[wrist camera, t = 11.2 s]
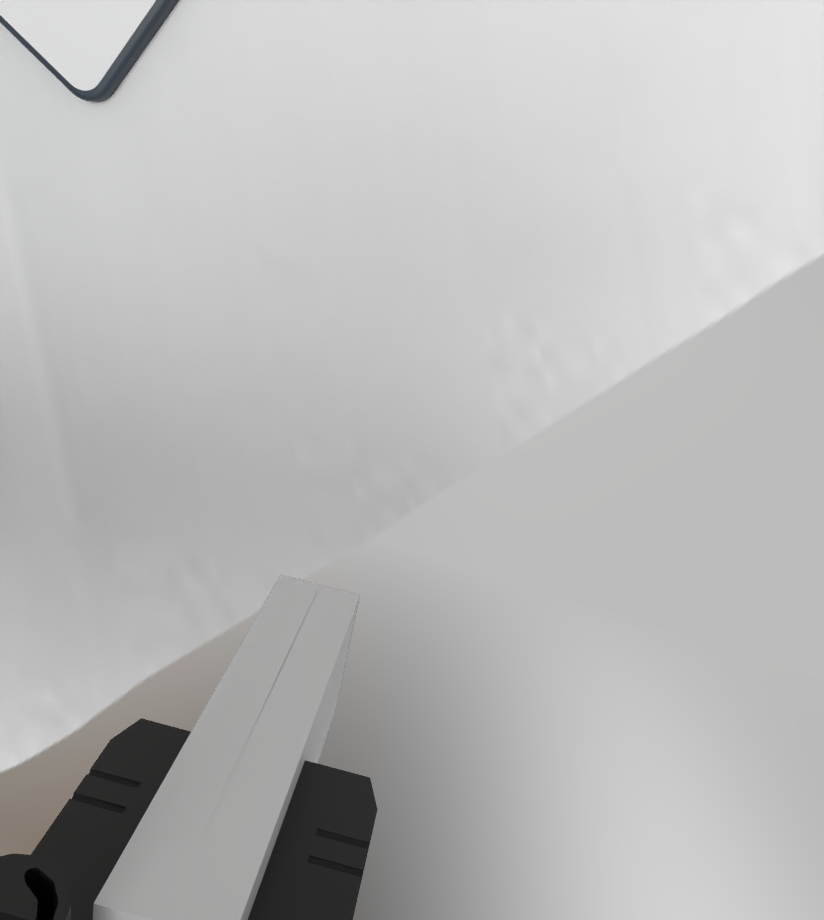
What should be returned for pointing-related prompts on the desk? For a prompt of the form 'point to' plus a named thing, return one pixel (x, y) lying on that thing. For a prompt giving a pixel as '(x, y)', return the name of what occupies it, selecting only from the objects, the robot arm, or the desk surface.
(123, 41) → the smartphone
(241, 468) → the desk surface
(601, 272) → the desk surface
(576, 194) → the desk surface
